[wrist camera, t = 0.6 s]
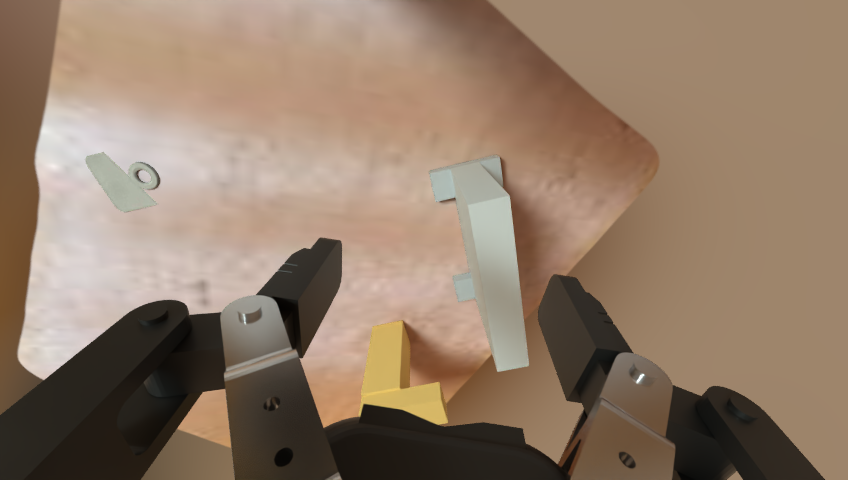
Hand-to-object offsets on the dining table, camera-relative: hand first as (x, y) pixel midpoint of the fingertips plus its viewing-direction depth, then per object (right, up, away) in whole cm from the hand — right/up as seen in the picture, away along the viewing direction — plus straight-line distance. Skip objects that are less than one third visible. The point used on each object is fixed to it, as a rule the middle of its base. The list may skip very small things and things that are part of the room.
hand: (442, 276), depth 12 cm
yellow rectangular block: (-3, -11, +29) cm, 31 cm away
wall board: (+5, +2, +23) cm, 23 cm away
